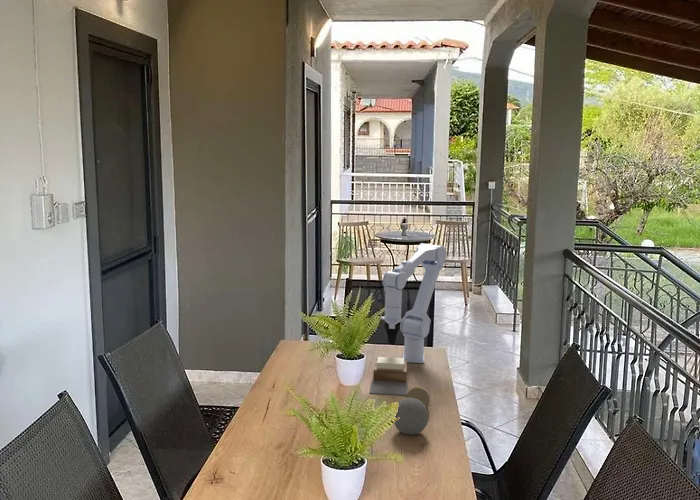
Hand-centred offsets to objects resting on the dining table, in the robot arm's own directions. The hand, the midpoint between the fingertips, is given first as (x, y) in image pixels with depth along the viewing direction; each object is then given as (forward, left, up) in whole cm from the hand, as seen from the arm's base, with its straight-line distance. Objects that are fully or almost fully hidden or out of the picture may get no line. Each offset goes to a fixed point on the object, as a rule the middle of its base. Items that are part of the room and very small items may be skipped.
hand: (391, 343), depth 231 cm
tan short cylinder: (+31, +9, -10) cm, 34 cm away
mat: (+18, 0, -10) cm, 21 cm away
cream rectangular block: (+7, 0, -6) cm, 10 cm away
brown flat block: (+6, 0, -10) cm, 12 cm away
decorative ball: (+50, +7, -10) cm, 52 cm away
